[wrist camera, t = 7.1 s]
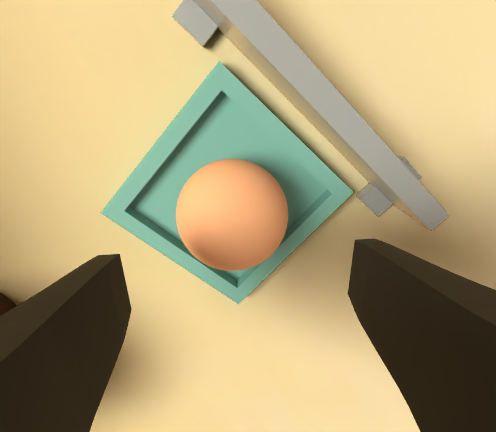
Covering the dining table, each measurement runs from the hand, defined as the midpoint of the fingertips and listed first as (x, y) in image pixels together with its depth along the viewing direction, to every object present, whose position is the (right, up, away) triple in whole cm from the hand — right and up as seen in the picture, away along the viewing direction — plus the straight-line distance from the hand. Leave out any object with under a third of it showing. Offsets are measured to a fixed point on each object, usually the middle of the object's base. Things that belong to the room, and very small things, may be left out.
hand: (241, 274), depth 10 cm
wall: (+3, +7, +6) cm, 10 cm away
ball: (-1, +3, +7) cm, 7 cm away
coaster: (-1, +3, +7) cm, 8 cm away
